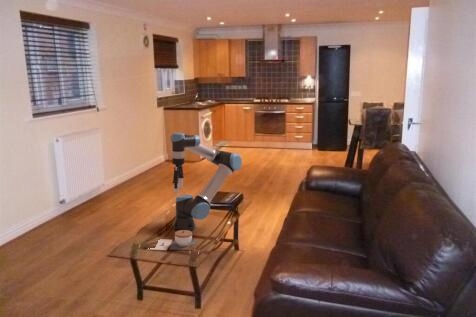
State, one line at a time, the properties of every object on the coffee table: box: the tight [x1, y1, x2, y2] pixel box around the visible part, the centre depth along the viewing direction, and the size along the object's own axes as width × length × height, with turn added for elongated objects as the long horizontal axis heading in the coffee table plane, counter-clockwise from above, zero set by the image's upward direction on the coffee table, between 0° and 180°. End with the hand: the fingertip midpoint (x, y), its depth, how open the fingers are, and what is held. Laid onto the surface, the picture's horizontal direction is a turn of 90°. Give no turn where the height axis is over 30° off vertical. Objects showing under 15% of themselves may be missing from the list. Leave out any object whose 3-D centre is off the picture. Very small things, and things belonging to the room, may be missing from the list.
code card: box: [147, 238, 173, 251], centre depth 256 cm, size 17×14×1 cm
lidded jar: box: [174, 230, 193, 247], centre depth 255 cm, size 11×11×9 cm
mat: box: [169, 239, 197, 251], centre depth 255 cm, size 14×14×1 cm
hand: (178, 190), depth 262 cm, fingers open, 13 cm apart
